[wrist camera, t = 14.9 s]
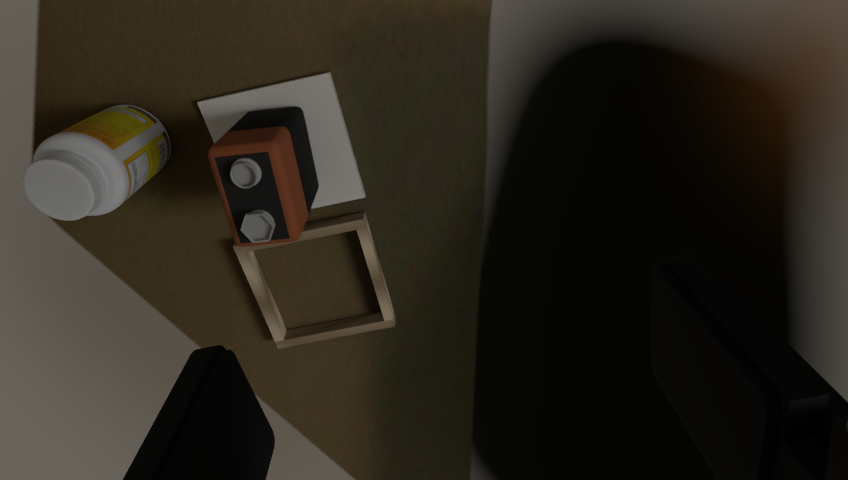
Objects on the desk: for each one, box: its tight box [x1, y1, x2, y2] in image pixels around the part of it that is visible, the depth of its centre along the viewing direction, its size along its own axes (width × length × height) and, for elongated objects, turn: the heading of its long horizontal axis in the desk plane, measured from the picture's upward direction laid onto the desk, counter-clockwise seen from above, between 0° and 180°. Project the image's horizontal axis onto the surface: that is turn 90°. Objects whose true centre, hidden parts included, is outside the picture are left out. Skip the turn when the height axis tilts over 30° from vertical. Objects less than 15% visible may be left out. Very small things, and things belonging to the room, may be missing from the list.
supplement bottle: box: [23, 105, 171, 221], centre depth 35 cm, size 6×6×10 cm
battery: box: [208, 106, 319, 247], centre depth 35 cm, size 4×7×10 cm, turn 6°
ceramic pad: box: [197, 71, 365, 209], centre depth 40 cm, size 10×10×1 cm
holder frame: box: [233, 211, 395, 349], centre depth 45 cm, size 11×11×2 cm
